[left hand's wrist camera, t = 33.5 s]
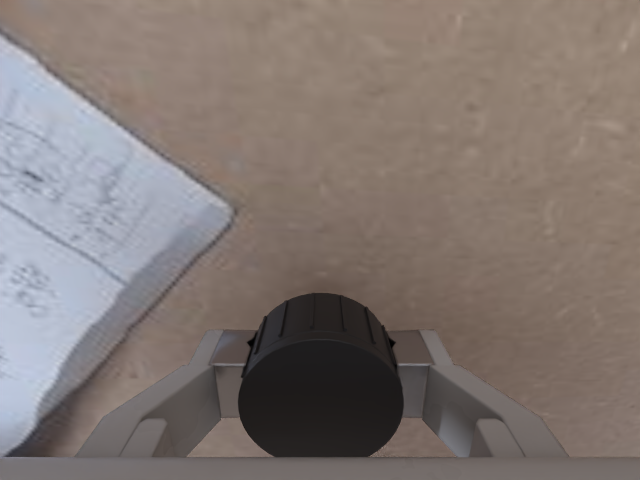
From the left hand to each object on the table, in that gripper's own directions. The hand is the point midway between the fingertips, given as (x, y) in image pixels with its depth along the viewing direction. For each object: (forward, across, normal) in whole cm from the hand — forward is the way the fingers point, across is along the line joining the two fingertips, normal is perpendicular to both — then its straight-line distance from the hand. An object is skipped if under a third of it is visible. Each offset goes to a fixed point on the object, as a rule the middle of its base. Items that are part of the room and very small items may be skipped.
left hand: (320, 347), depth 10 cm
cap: (-2, 0, 0) cm, 2 cm away
